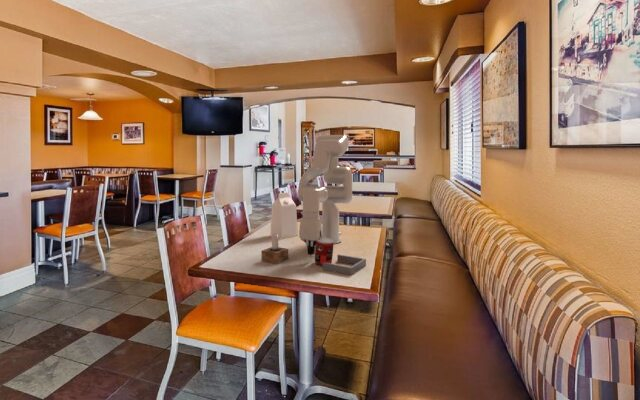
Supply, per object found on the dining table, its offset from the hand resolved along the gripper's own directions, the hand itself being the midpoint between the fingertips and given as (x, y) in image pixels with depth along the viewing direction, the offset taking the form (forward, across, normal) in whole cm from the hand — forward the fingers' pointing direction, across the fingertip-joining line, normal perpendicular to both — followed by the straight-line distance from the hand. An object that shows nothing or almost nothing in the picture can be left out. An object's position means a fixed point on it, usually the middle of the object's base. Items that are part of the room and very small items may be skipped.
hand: (311, 254), depth 171 cm
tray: (+4, +17, +1) cm, 18 cm away
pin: (+4, -16, -7) cm, 17 cm away
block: (+4, -16, -7) cm, 17 cm away
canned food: (+3, +6, 0) cm, 7 cm away
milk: (+4, -42, +36) cm, 56 cm away
